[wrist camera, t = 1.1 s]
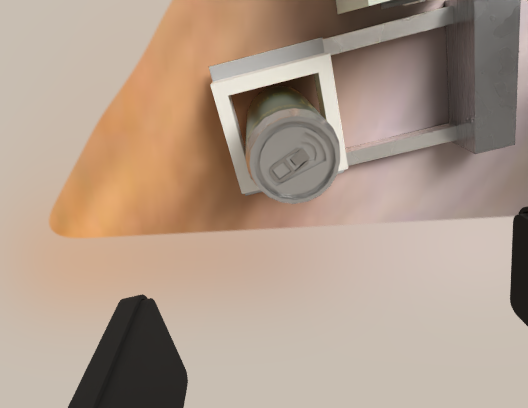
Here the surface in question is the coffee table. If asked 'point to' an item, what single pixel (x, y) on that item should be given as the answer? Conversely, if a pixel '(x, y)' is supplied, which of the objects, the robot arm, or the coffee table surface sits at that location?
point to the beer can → (289, 146)
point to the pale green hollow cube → (346, 3)
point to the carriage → (266, 73)
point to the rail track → (456, 75)
